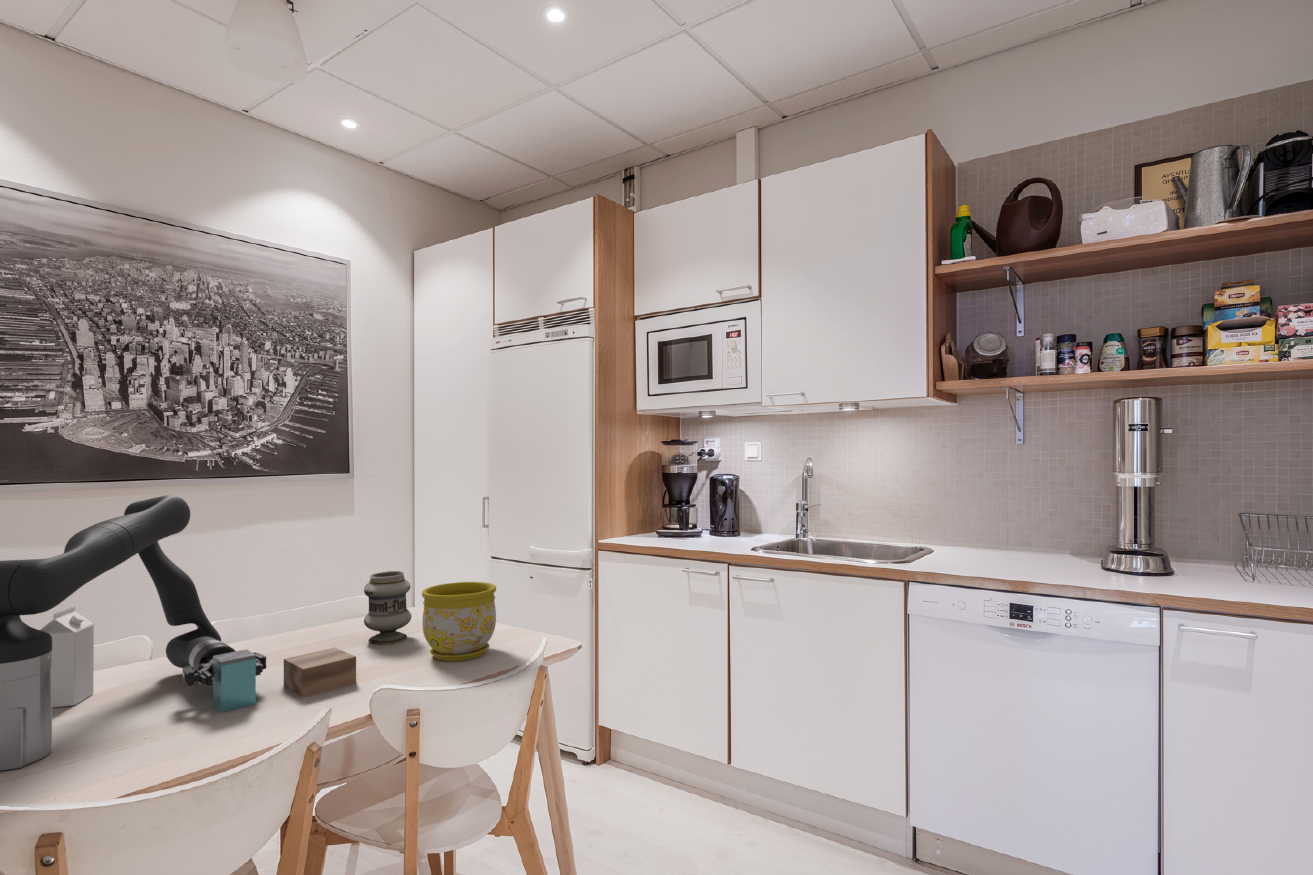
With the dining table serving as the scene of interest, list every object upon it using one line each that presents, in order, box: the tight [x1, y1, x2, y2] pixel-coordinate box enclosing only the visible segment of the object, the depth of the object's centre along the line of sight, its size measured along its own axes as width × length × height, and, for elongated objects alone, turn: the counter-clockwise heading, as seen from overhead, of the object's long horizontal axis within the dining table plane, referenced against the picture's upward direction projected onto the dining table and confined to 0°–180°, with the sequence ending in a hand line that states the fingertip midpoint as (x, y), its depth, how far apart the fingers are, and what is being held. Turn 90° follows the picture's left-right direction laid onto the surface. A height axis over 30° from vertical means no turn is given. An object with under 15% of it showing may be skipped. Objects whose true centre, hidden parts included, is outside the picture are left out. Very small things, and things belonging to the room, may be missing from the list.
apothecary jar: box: [363, 570, 412, 646], centre depth 181 cm, size 12×12×18 cm
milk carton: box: [39, 606, 95, 709], centre depth 137 cm, size 7×7×19 cm
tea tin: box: [212, 649, 257, 714], centre depth 134 cm, size 6×6×10 cm
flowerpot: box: [421, 581, 497, 662], centre depth 167 cm, size 18×18×16 cm
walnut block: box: [283, 647, 357, 698], centre depth 146 cm, size 11×11×6 cm
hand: (235, 675), depth 134 cm, fingers open, 8 cm apart
